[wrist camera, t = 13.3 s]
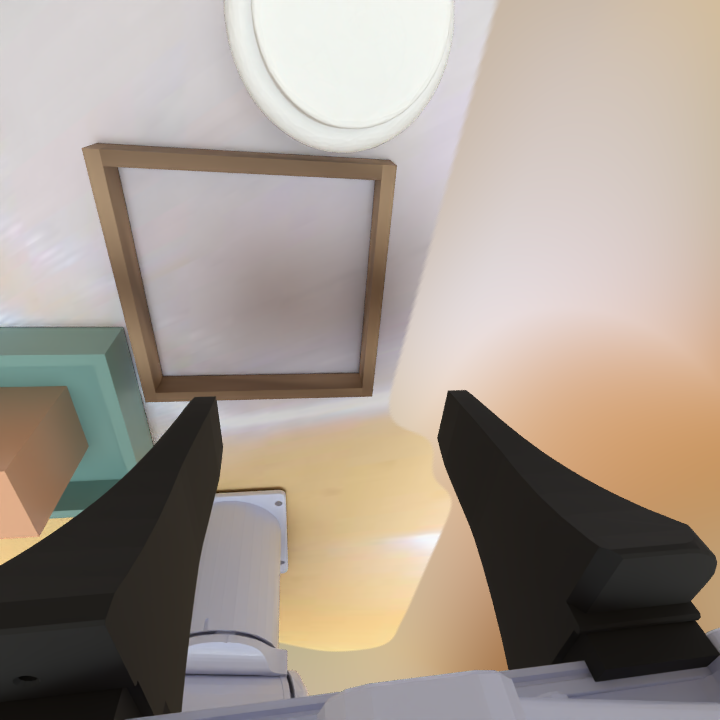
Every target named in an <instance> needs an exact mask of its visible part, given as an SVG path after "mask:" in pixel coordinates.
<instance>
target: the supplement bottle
mask: <svg viewBox="0 0 720 720" xmlns="http://www.w3.org/2000/svg"><path fill="white" fill-rule="evenodd" d="M224 17H225V24H226V31H227V37H228V42H229V46H230V50H231V53H232V56H233V60H234V62H235V65H236V68H237V70H238V73H239V75H240V77H241V79H242V81H243V83H244V85H245V87H246V89H247V91H248V93H249V94H250V96H251V97H252V99H253V100H254V102H255V103H256V104H257V106H258V107H259V108H260V110H261V111H262V112H263V113H264V114H265V115H266V116H267V117H268V119H269V120H270V121H271V122H272V123H274V124H275V125H276V126H277V127H278V128H279V129H280V130H282V131H283V132H284V133H286V134H287V135H289V136H290V137H292V138H293V139H295V140H297V141H299V142H301V143H303V144H305V145H307V146H310V147H312V148H316V149H319V150H323V151H328V152H335V153H351V152H358V151H363V150H368V149H371V148H374V147H377V146H379V145H381V144H384V143H386V142H387V141H389V140H391V139H393V138H394V137H396V136H397V135H398V134H400V133H401V132H402V131H404V130H405V129H406V128H407V127H408V126H409V125H411V124H412V123H413V122H414V121H415V119H416V118H417V117H418V116H419V115H420V113H421V112H422V111H423V110H424V108H425V107H426V105H427V104H428V103H429V101H430V99H431V98H432V96H433V94H434V93H435V91H436V89H437V87H438V85H439V83H440V80H441V78H442V75H443V73H444V70H445V67H446V64H447V61H448V57H449V53H450V48H451V44H452V38H453V31H454V0H224Z"/></svg>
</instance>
